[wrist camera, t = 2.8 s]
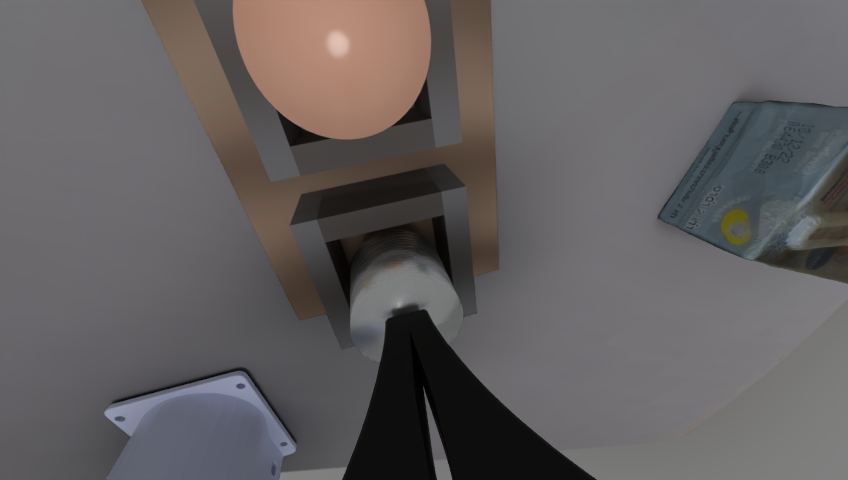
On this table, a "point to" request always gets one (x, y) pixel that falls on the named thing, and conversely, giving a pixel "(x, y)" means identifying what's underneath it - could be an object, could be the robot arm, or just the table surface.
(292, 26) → the terracotta plug
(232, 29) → the socket board
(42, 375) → the table surface
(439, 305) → the aluminium plug
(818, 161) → the beverage carton
